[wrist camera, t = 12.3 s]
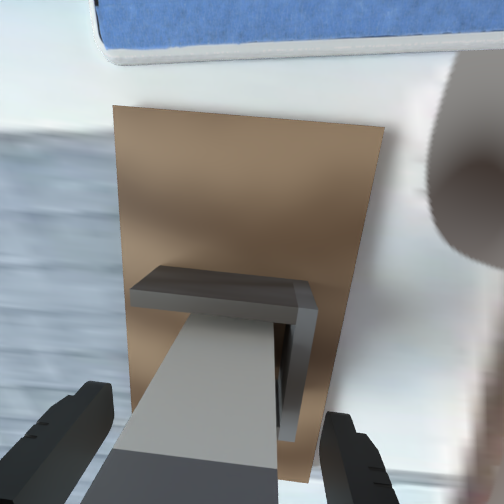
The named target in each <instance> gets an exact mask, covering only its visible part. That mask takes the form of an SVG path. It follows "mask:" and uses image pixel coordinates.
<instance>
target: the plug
mask: <svg viewBox="0 0 504 504" xmlns="http://www.w3.org/2000/svg"><path fill="white" fill-rule="evenodd" d="M80 504H278V473H277V436H276V399H275V362H274V325H273V322H265V321H256V320H247V319H238V318H229V317H221V316H212V315H203V314H194V313H190V315H189V317H188V319H187V320H186V322H185V324H184V326H183V327H182V329H181V331H180V332H179V334H178V336H177V338H176V339H175V341H174V343H173V345H172V346H171V348H170V350H169V351H168V353H167V355H166V357H165V358H164V360H163V362H162V363H161V365H160V367H159V369H158V370H157V372H156V374H155V376H154V377H153V379H152V381H151V382H150V384H149V386H148V388H147V389H146V391H145V393H144V395H143V396H142V398H141V400H140V401H139V403H138V405H137V407H136V408H135V410H134V412H133V414H132V415H131V417H130V419H129V420H128V422H127V424H126V426H125V427H124V429H123V431H122V432H121V434H120V436H119V438H118V439H117V441H116V443H115V445H114V446H113V448H112V450H111V451H110V453H109V455H108V457H107V458H106V460H105V462H104V464H103V465H102V467H101V469H100V470H99V472H98V474H97V476H96V477H95V479H94V481H93V482H92V484H91V486H90V488H89V489H88V491H87V493H86V495H85V496H84V498H83V500H82V501H81V503H80Z"/></svg>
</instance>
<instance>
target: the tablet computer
mask: <svg viewBox="0 0 504 504" xmlns="http://www.w3.org/2000/svg"><path fill="white" fill-rule="evenodd" d="M89 8H90V15H91V22H92V29H93V35H94V41H95V43H96V45H97V47H98V49H99V50H100V51H101V53H102V54H103V56H104V57H105V58H106V59H107V60H108V61H109V62H111V63H113V64H115V65H121V66H128V65H146V64H164V63H179V62H197V61H216V60H240V59H262V58H286V57H310V56H340V55H365V54H385V53H409V52H435V51H463V50H492V49H504V0H89Z"/></svg>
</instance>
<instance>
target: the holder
mask: <svg viewBox="0 0 504 504" xmlns="http://www.w3.org/2000/svg"><path fill="white" fill-rule="evenodd" d="M113 118H114V134H115V150H116V166H117V182H118V198H119V214H120V230H121V246H122V262H123V278H124V294H125V310H126V326H127V342H128V358H129V373H130V389H131V405H132V414H133V412H134V410H135V408H136V407H137V405H138V403H139V401H140V400H141V398H142V396H143V395H144V393H145V391H146V389H147V388H148V386H149V384H150V382H151V381H152V379H153V377H154V376H155V374H156V372H157V370H158V369H159V367H160V365H161V363H162V362H163V360H164V358H165V357H166V355H167V353H168V351H169V350H170V348H171V346H172V345H173V343H174V341H175V339H176V338H177V336H178V334H179V332H180V331H181V329H182V327H183V326H184V324H185V322H186V320H187V319H188V317H189V315H190V313H194V314H203V315H212V316H221V317H229V318H238V319H247V320H256V321H265V322H273V325H274V362H275V399H276V436H277V473H278V479H280V480H287V481H294V482H302V483H308V482H309V478H310V473H311V468H312V464H313V459H314V454H315V450H316V445H317V440H318V436H319V431H320V426H321V422H322V417H323V412H324V408H325V403H326V398H327V394H328V389H329V384H330V380H331V375H332V371H333V366H334V361H335V357H336V352H337V347H338V343H339V338H340V333H341V329H342V324H343V319H344V315H345V310H346V305H347V301H348V296H349V291H350V287H351V282H352V277H353V273H354V268H355V264H356V259H357V254H358V250H359V245H360V240H361V236H362V231H363V226H364V222H365V217H366V212H367V208H368V203H369V198H370V194H371V189H372V184H373V180H374V175H375V170H376V166H377V161H378V157H379V152H380V147H381V143H382V138H383V133H384V129H385V127H375V126H363V125H351V124H338V123H326V122H314V121H301V120H289V119H277V118H265V117H252V116H240V115H228V114H215V113H203V112H191V111H178V110H166V109H154V108H142V107H129V106H117V105H113Z"/></svg>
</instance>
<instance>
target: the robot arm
mask: <svg viewBox="0 0 504 504" xmlns="http://www.w3.org/2000/svg"><path fill="white" fill-rule="evenodd" d="M113 420H114V406H113V394H112V386H111V384H110V383H103V382H95V381H88V382H86V383H85V384H84V385H83V386H82V387H81V388H80V389H79V391H78V392H77V393H76V394H75V395H74V396H72V395H68V396H66V397H65V398H63V399H62V400H60V401H59V402H57V403H56V404H54V405H53V406H51V407H50V408H49V409H48V411H47V412H46V413H45V414H44V415H43V416H42V417H41V418H40V419H39V420H38V421H37V423H36V425H33V426H32V427H31V428H30V429H29V431H28V432H27V433H26V434H25V436H24V437H23V438H21V439H20V440H19V441H18V442H17V443H16V444H15V445H14V446H13V447H12V448H11V449H10V450H9V452H8V453H7V454H6V455H5V456H4V457H3V458H2V459H1V460H0V504H64V503H65V502H66V500H67V498H68V497H69V495H70V494H71V492H72V491H73V489H74V487H75V486H76V484H77V483H78V481H79V479H80V478H81V476H82V475H83V473H84V471H85V470H86V468H87V467H88V465H89V464H90V462H91V460H92V459H93V457H94V456H95V454H96V452H97V451H98V449H99V448H100V446H101V444H102V443H103V441H104V440H105V438H106V436H107V435H108V433H109V431H110V429H111V427H112V424H113ZM319 455H320V464H321V470H322V476H323V481H324V487H325V493H326V498H327V504H399V501H398V499H397V496H396V494H395V491H394V489H392V484H391V481H390V479H389V476H388V474H387V473H386V470H385V466H384V464H383V461H382V459H381V456H380V454H379V451H378V449H377V448H376V447H375V445H374V444H373V443H372V441H371V440H370V439H369V437H368V436H367V435H366V434H363V433H356V430H355V427H354V424H353V421H352V419H351V416H350V415H349V414H345V413H337V412H329V411H328V412H327V413H326V416H325V421H324V425H323V430H322V434H321V439H320V446H319Z"/></svg>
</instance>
